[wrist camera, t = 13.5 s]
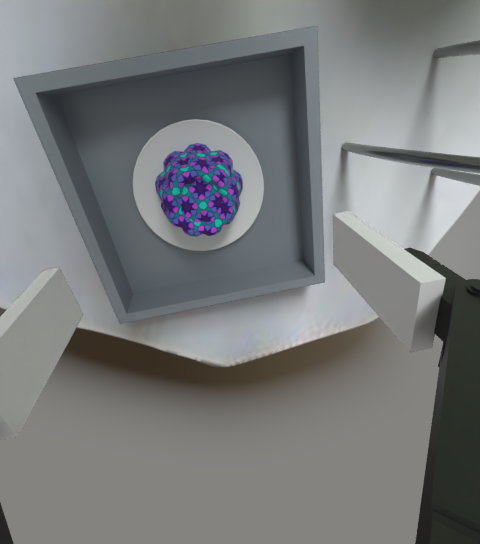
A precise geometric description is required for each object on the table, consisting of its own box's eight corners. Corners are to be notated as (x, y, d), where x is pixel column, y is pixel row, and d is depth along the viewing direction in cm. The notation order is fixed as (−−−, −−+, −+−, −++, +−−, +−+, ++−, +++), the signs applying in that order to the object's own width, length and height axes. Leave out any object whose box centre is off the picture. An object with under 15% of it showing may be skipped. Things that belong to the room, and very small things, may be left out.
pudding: (287, 179, 30) (304, 191, 25) (212, 268, 33) (214, 294, 29) (184, 85, 25) (181, 80, 21) (109, 200, 29) (92, 218, 24)
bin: (42, 83, 25) (13, 78, 21) (298, 38, 25) (317, 25, 22) (128, 299, 35) (119, 324, 31) (310, 263, 35) (324, 282, 32)
